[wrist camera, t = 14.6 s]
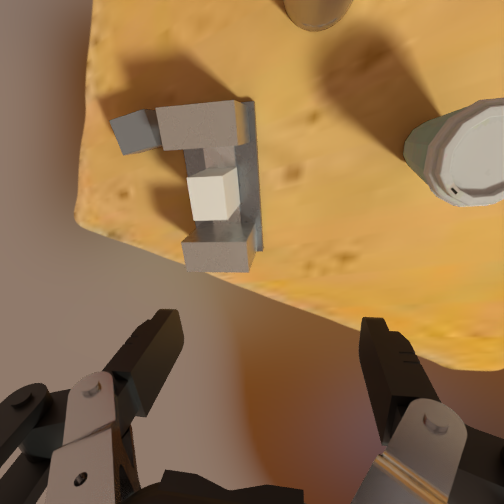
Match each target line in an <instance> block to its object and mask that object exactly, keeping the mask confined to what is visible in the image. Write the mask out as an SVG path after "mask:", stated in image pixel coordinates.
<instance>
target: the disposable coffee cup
mask: <svg viewBox="0 0 504 504" xmlns="http://www.w3.org/2000/svg"><path fill="white" fill-rule="evenodd" d="M403 156H404V158H405V160H406V162H407V164H408V166H409V167H410V168H411V169H412V170H413V171H414V172H415V173H416V174H417V175H418V176H419V177H420V178H421V179H422V180H423V181H424V182H425V183H426V184H427V185H429V187H430V189H431V191H432V192H433V193H434V194H435V195H436V196H437V197H438V198H440V199H442V200H444V201H446V202H448V203H449V204H451V205H453V206H458V207H466V206H487V205H489V204H495V203H497V202H499V201H500V200H502V199H504V98H496V99H486V100H478V101H477V102H475V103H473V104H472V105H470V106H468V107H465V108H462V109H460V110H457V111H454V112H451V113H448V114H446V115H443V116H440V117H437V118H435V119H432V120H429V121H426V122H425V123H423V124H421V125H420V126H418V127H417V128H415V129H413V131H412V132H411V134H410V135H409V137H408V138H407V139H406V141H405V145H404V152H403Z"/></svg>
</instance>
